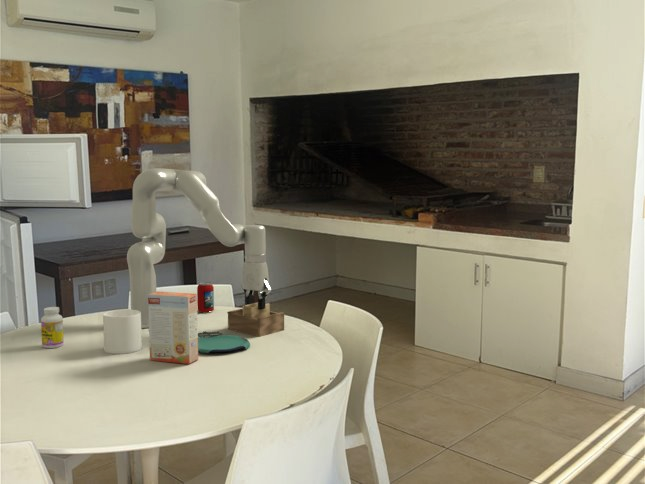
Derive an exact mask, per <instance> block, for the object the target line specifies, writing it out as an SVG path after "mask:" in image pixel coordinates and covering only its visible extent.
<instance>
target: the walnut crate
mask: <svg viewBox="0 0 645 484" xmlns="http://www.w3.org/2000/svg"><path fill="white" fill-rule="evenodd" d="M285 313H286V312H284V311H281V312H276V311H272V310H270V315H268V316H264V317H260V318H258V319H256V318H251V317H246V316H243V307H241V308H238V309H234V310H229V311H227V329H228V330H231V331H232V332H233V331H234V332H239V333H241V334H247V335H251V336H256V337H264V336H267V335H270V334H275V333H278V332H282V331H284V330H285Z"/></svg>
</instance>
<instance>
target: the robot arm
mask: <svg viewBox="0 0 645 484" xmlns="http://www.w3.org/2000/svg"><path fill="white" fill-rule="evenodd" d="M207 185H208V184H207V179H206V176H205V174H204V173H202V172H201V171H199V170H186V169H185V170H184V169H177V168H176V169H173V168H162V167H161V168H160V167H159V168H158V167H157V168H156V167H154V168H149V169H146V170H144V171H142V172H141V173H139V174H138V175H137V176H136V178H135V180H134V181H133V185H132V207H131V209H132V210H131V227H130V228H131V231H132V235H134V236H135V237H136V238H138V239H141V241H138V242H136V243H134V244H132V245H131V246H130V247H129V248H128V250H127V253H126V261H127V265H128V272H129V290H130V309H131V310H138V311H140V312H141V329H149V310H148V294H151V293H154V292H157V275H156V270H155V267H154V265H156V264H158V263H160V262H161V261H162V260H163V258H164V257H165V254H166V237H167V225H166V221H165V218H164V217H163V215H162V214H160V213H158V212H157V200H156V193H158V192H177V193H178V192H180V193H181V194H182V195H183V196H184V197H185V198H186V199H187V200H188V201H189V202H190V203H191V204H192V206H193V207H194V208H195V209H196V210H197V212H198V213H199V214H200V215H201V218H202V221H203V222H204V224H205V225H206V227H207V229H208V230H209V231H210V233H211V234H213V236H214V237H215V238H216V239H217V240H218V241H219V242H220V243H221V244H222V245H224V247H225V246H226V247H232V248H233V247H235V246H238V245H243V244H244V257H243V258H244V262H243V265H242V270H241V271H242V274H241V286H240V287H241V289H242V290H243V291H244V294H245V297H246V303H247V304H246V305H249V304H254V303H255V296H254V292H257V294H258V299H257V303H258V309H259V310H261V309H265V303H266V298H267V296H268V295H269V294H270V293H271V292H272V288H271V286H270V285H269V284H270V279H269V269H268V263H267V254H266V253H267V252H266V249H267V246H266V245H267V244H266V242H267V241H266V227H265V226H264V225H262V224H250V225H246V224H242V223H241V224H239V223H234V224H231V222H230V221H229V220H228V219H227V218H226V216H225V215H224V214H223V212H222V211H221V208H220V201H219V200H220V199H219V198H218V197H217V195H215V193H214V192H213V191H212V190H211V189H210V188H209V187H208V186H207Z"/></svg>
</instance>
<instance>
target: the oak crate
mask: <svg viewBox="0 0 645 484" xmlns="http://www.w3.org/2000/svg"><path fill="white" fill-rule="evenodd" d="M242 308H243V316H246V317H251V318H256V319H258V318H260V317H264V316H268V315H270V311H271V309H270V308H271V303H267V302H265V309H261V310H259V309H258V302H254V304H249V305H247V304H244V305H242Z"/></svg>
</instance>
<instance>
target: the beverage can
mask: <svg viewBox="0 0 645 484" xmlns="http://www.w3.org/2000/svg"><path fill="white" fill-rule="evenodd" d="M196 289H197V290H196V291H197V292H196V294H197V312H199V311H200V313H201V312H209V311H212V312H213V311H215V292H214V289H215V288H214V286H213V283H212V282H209V281H207V282H205V281H204V282H199V283H198V285H197V288H196Z"/></svg>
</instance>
